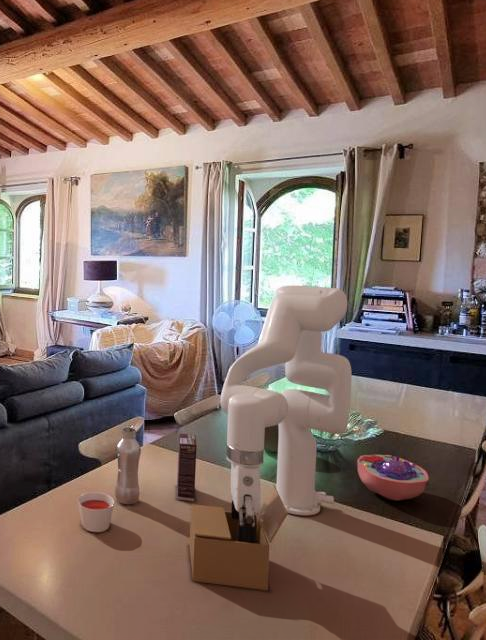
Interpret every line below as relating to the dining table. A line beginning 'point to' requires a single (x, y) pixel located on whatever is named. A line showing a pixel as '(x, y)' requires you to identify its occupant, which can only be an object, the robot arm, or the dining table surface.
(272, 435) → the dark brown egg shape
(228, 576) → the carton
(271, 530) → the flap
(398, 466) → the cell model
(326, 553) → the dining table surface
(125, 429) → the silver metal bottle
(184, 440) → the supplement box
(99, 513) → the white cup
